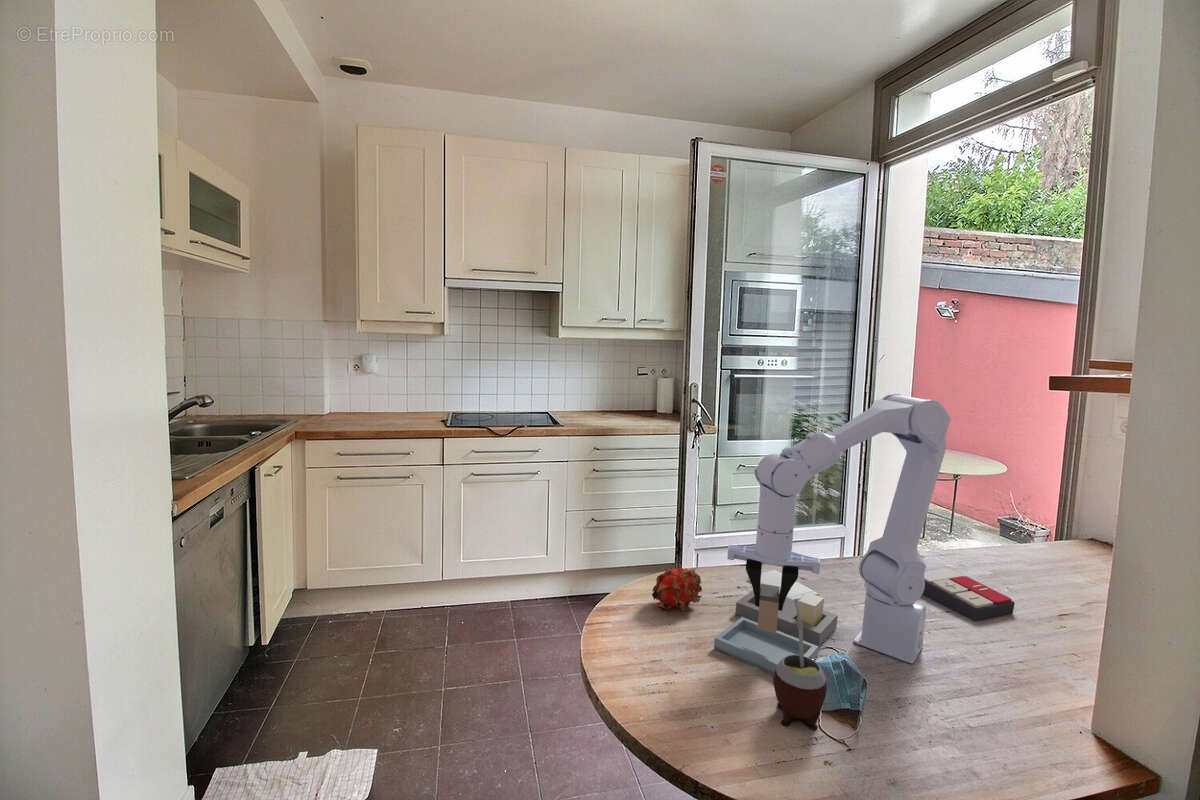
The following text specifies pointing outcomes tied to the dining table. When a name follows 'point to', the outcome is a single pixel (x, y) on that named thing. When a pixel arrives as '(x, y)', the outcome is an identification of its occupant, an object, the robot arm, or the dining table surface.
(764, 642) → the parts tray
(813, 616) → the block
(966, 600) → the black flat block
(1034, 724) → the dining table surface
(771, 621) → the block
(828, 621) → the block
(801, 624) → the mate gourd
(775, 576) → the hard drive
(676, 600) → the dragon fruit
